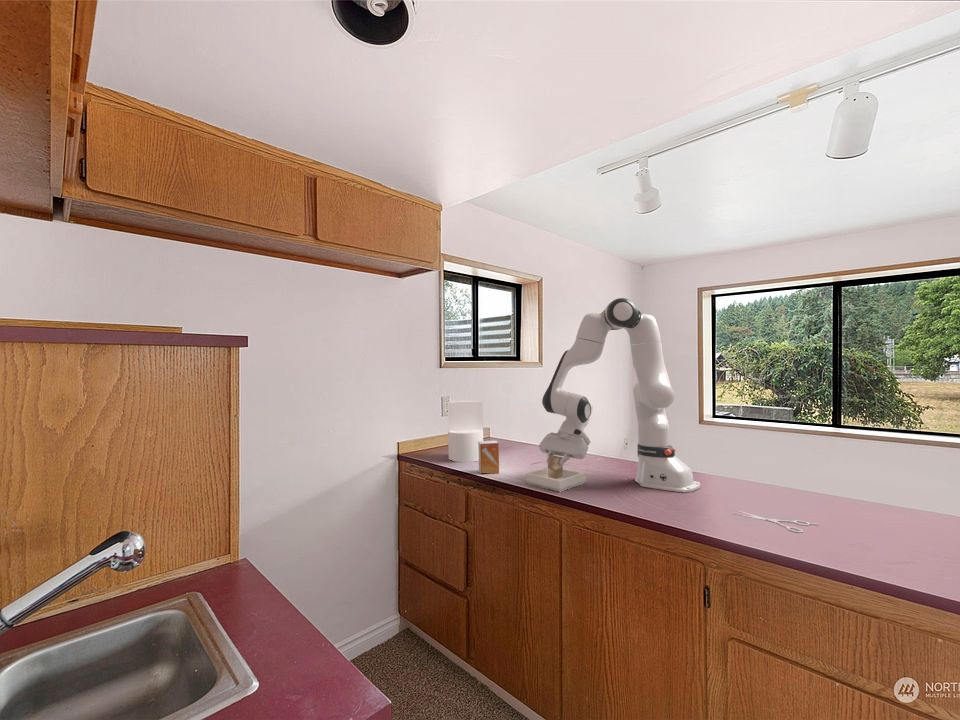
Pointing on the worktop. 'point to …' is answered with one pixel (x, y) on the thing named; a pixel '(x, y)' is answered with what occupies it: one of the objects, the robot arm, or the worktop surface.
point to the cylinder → (464, 429)
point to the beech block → (554, 467)
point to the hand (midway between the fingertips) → (554, 463)
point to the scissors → (782, 521)
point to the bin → (560, 484)
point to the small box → (488, 456)
